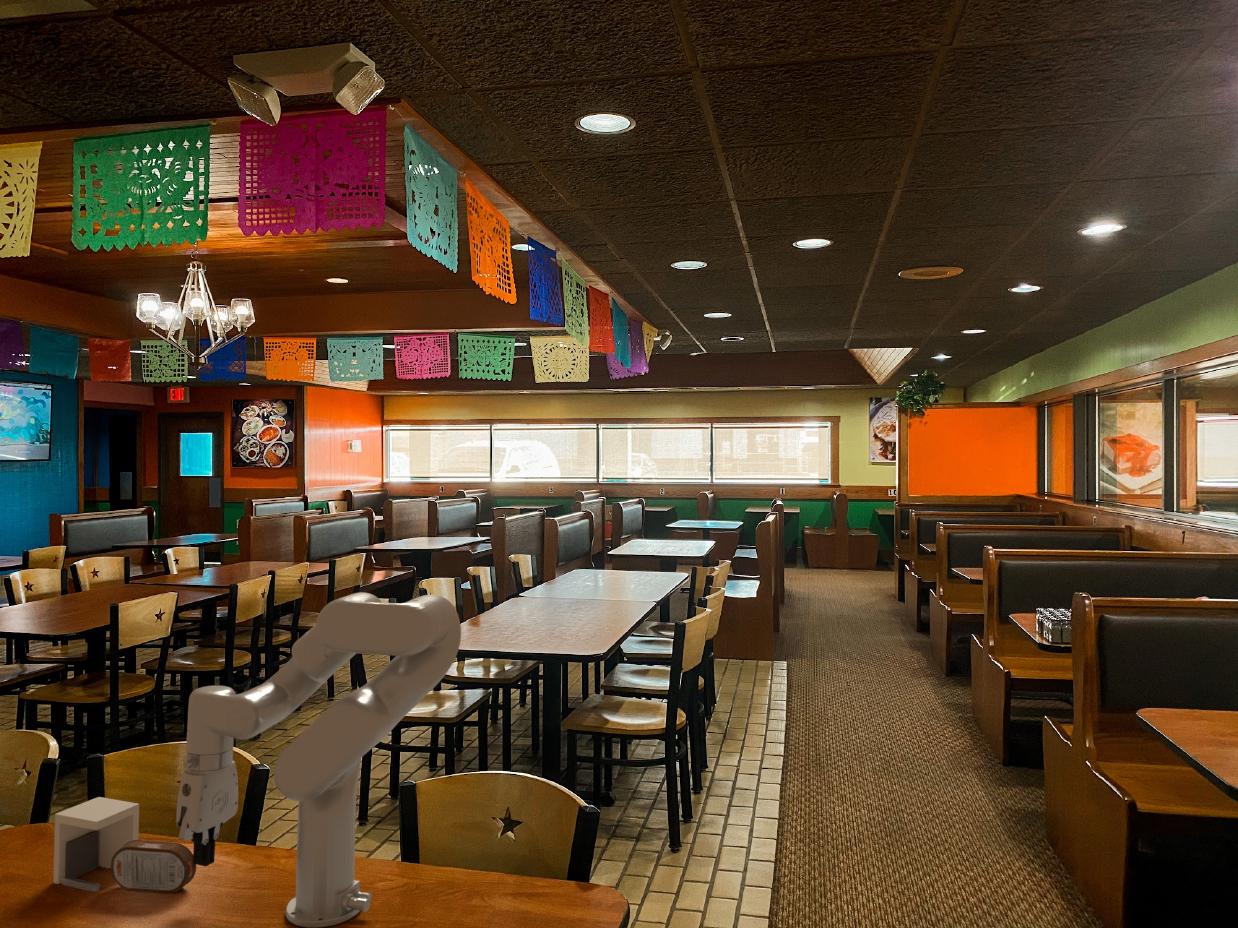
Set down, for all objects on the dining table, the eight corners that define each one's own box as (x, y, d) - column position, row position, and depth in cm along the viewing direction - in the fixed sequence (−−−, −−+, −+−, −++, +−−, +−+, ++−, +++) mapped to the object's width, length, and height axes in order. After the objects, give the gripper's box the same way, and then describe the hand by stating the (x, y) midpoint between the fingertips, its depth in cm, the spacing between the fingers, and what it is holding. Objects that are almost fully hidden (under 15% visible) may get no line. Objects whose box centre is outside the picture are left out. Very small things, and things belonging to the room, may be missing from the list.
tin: (196, 888, 157) (197, 841, 157) (186, 896, 154) (187, 848, 154) (118, 882, 158) (119, 836, 158) (107, 891, 155) (108, 843, 155)
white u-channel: (137, 870, 163) (139, 803, 163) (95, 891, 155) (96, 821, 155) (97, 861, 166) (98, 796, 167) (53, 882, 158) (55, 813, 158)
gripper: (192, 775, 144) (186, 886, 144) (256, 749, 158) (251, 850, 158) (157, 768, 147) (151, 877, 146) (223, 743, 161) (218, 842, 161)
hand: (203, 862), depth 152 cm, fingers closed
